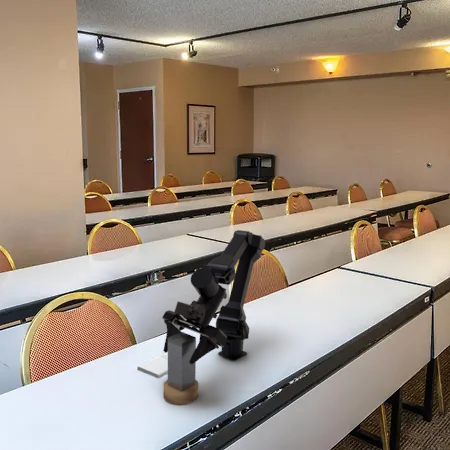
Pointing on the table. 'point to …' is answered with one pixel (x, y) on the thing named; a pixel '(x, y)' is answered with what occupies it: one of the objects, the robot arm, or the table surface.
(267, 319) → the table surface
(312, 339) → the table surface
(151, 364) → the external hard drive
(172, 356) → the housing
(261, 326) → the table surface
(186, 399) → the stand
